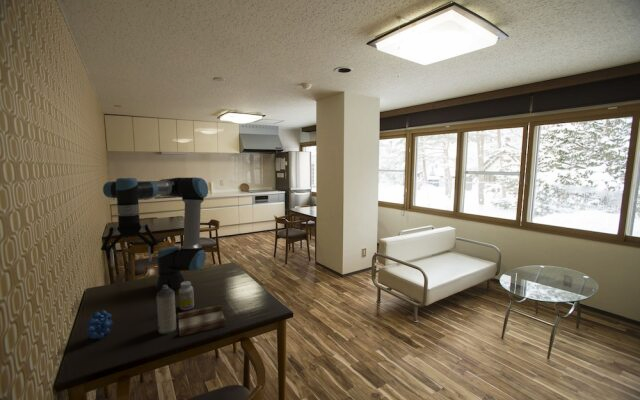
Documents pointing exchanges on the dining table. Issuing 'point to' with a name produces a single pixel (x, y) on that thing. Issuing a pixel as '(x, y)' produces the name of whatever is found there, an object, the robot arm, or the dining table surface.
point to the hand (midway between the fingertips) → (131, 263)
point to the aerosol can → (166, 310)
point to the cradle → (201, 320)
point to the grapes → (99, 324)
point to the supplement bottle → (186, 296)
